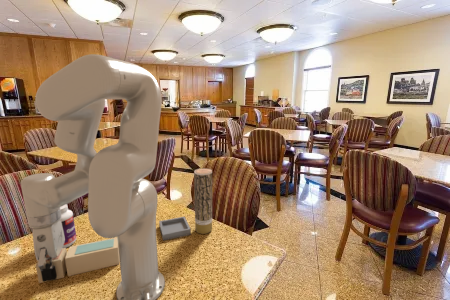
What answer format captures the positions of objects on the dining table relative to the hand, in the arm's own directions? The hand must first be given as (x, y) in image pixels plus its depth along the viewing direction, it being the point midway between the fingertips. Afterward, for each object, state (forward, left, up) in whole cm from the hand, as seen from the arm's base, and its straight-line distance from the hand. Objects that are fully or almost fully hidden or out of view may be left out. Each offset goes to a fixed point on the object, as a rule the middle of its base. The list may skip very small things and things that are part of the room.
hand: (54, 270), depth 70 cm
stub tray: (+10, -38, -1) cm, 39 cm away
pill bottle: (+16, +1, -1) cm, 16 cm away
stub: (0, 0, -1) cm, 1 cm away
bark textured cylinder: (+6, -49, -1) cm, 49 cm away
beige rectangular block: (0, -11, -1) cm, 11 cm away
